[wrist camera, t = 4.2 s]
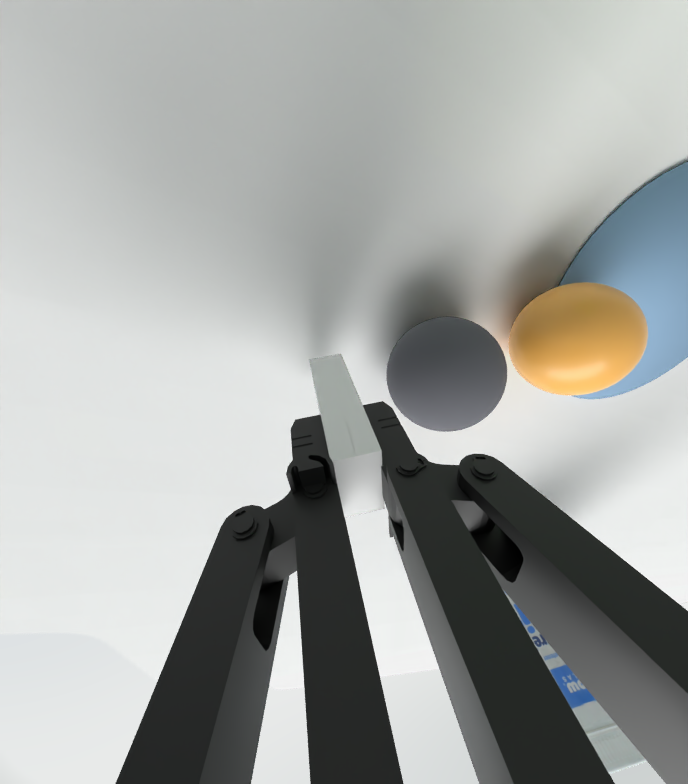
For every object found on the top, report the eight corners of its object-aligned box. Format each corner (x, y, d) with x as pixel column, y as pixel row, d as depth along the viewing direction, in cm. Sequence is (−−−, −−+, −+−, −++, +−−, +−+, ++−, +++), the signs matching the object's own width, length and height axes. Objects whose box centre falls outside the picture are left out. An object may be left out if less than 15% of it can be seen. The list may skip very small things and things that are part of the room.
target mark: (513, 281, 16) (515, 281, 16) (802, 71, 13) (808, 70, 13) (566, 429, 23) (568, 430, 23) (758, 314, 21) (762, 315, 21)
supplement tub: (511, 522, 30) (677, 750, 17) (534, 556, 35) (675, 751, 23) (426, 569, 31) (522, 806, 19) (459, 594, 36) (553, 795, 24)
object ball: (477, 330, 15) (610, 369, 11) (543, 251, 16) (692, 262, 12) (495, 389, 19) (599, 433, 15) (548, 323, 19) (661, 350, 16)
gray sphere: (560, 392, 12) (507, 331, 16) (448, 326, 11) (424, 279, 15) (462, 470, 15) (440, 401, 19) (365, 426, 14) (365, 362, 18)
